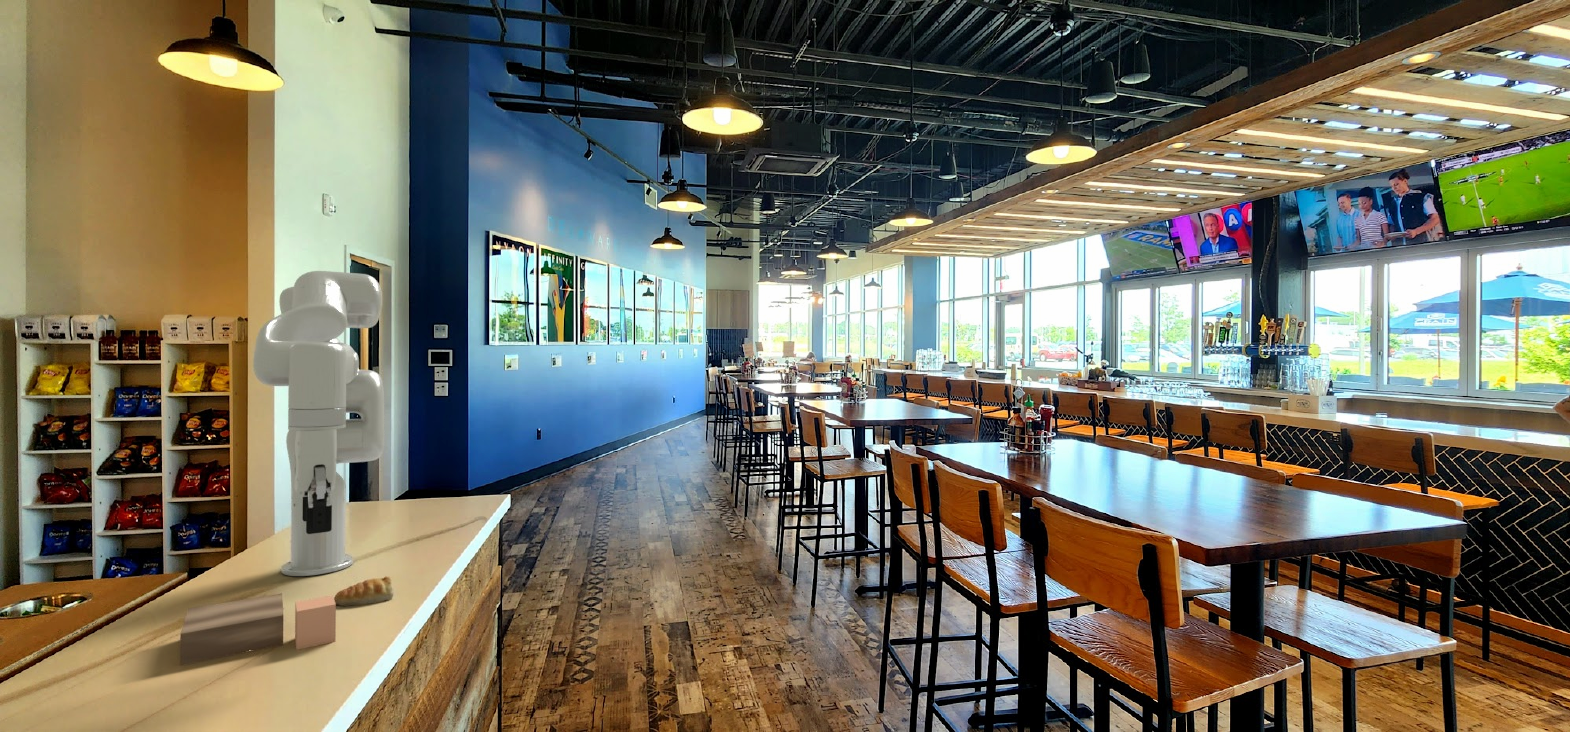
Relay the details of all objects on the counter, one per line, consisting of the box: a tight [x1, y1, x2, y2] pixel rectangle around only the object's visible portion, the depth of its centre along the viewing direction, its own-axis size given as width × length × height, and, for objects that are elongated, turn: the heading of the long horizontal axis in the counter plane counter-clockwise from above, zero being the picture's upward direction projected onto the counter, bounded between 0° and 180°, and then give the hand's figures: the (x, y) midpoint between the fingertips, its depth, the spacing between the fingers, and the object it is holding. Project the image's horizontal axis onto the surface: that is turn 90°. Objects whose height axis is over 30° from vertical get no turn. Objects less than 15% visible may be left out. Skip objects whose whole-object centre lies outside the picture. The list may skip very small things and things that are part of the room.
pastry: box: [333, 575, 395, 607], centre depth 123 cm, size 9×7×4 cm
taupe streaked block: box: [179, 592, 284, 666], centre depth 105 cm, size 12×12×5 cm
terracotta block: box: [294, 595, 337, 650], centre depth 106 cm, size 5×5×6 cm
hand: (316, 526), depth 105 cm, fingers open, 9 cm apart
